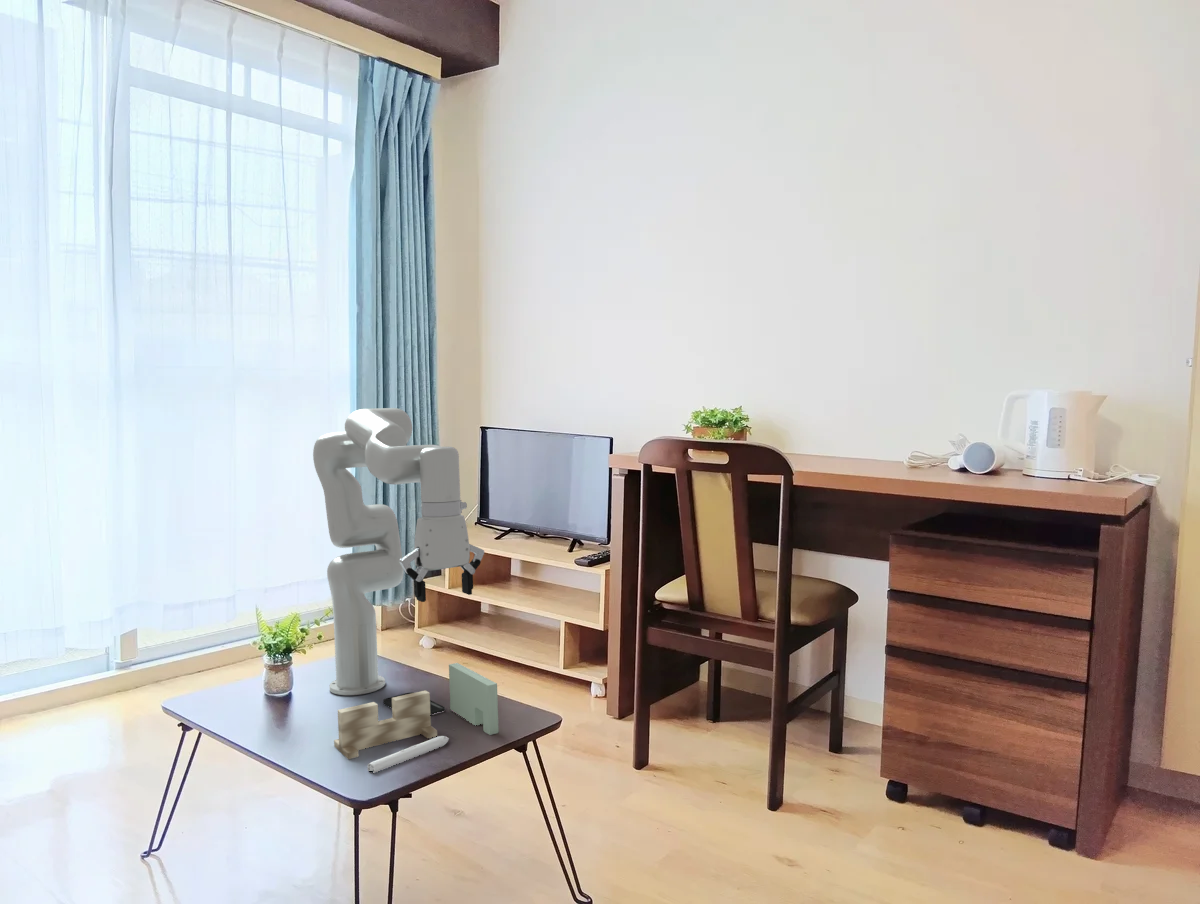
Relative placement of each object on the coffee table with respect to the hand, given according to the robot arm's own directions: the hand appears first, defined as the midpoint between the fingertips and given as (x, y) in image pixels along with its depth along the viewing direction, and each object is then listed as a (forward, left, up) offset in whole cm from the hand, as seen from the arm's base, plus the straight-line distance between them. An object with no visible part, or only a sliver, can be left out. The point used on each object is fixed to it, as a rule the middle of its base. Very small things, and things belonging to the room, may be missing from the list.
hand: (444, 597), depth 170 cm
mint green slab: (-5, +8, -28) cm, 30 cm away
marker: (+4, -10, -29) cm, 31 cm away
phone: (-21, +1, -29) cm, 36 cm away
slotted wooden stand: (-6, -11, -28) cm, 31 cm away
